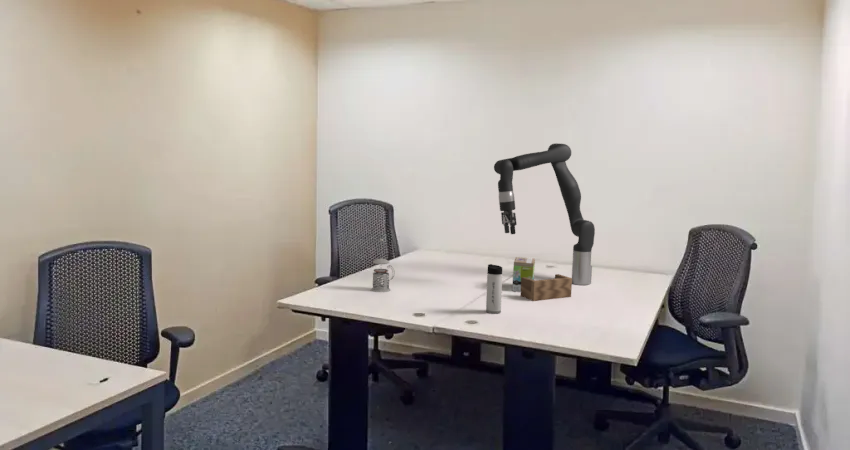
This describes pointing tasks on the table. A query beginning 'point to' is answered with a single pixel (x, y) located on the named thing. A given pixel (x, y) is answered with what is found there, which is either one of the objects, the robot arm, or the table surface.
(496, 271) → the travel mug
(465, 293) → the table surface
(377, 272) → the french press
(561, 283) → the display nook
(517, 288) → the tea box
